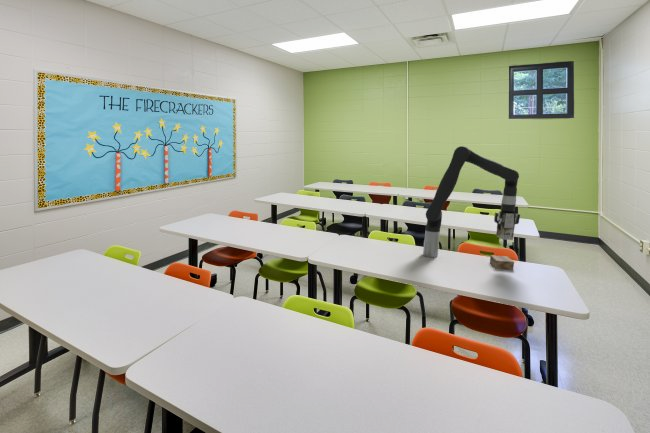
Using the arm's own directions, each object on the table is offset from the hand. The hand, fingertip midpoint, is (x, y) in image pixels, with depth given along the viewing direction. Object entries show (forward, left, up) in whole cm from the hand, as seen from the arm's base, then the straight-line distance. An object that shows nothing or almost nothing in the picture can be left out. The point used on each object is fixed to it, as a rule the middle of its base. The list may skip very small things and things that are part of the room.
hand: (505, 230), depth 213 cm
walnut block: (0, 0, -23) cm, 23 cm away
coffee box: (0, 0, -5) cm, 5 cm away
